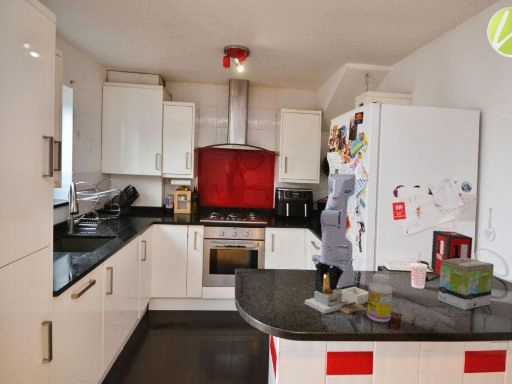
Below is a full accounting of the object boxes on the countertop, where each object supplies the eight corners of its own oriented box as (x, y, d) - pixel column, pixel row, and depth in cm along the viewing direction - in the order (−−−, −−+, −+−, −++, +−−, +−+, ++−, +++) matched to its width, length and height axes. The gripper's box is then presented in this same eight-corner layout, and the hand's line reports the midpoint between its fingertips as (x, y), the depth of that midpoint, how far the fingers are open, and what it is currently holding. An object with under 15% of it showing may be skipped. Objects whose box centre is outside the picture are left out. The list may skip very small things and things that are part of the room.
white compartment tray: (330, 297, 112) (330, 285, 112) (350, 306, 104) (351, 293, 104) (304, 303, 105) (305, 291, 105) (324, 313, 98) (325, 300, 97)
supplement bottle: (363, 313, 99) (365, 272, 99) (383, 313, 100) (385, 272, 99) (372, 323, 92) (375, 279, 92) (394, 323, 93) (397, 279, 92)
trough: (354, 305, 105) (354, 300, 105) (362, 309, 102) (362, 303, 102) (339, 309, 101) (339, 304, 101) (347, 313, 98) (347, 307, 98)
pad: (327, 297, 107) (327, 294, 107) (336, 301, 104) (336, 298, 104) (319, 299, 105) (319, 296, 105) (328, 303, 102) (328, 300, 102)
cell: (320, 291, 105) (321, 272, 105) (328, 290, 107) (329, 271, 107) (327, 294, 102) (328, 275, 102) (335, 293, 104) (336, 273, 104)
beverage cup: (409, 287, 127) (411, 252, 126) (408, 283, 133) (410, 249, 132) (427, 290, 125) (429, 254, 124) (425, 285, 130) (427, 251, 130)
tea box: (466, 311, 104) (469, 266, 104) (437, 300, 113) (439, 259, 113) (491, 304, 111) (494, 262, 111) (462, 295, 120) (464, 256, 120)
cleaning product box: (469, 285, 134) (472, 237, 133) (446, 283, 135) (449, 236, 134) (450, 274, 150) (453, 231, 149) (430, 272, 151) (433, 230, 150)
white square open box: (354, 295, 115) (354, 286, 115) (370, 302, 109) (370, 292, 109) (341, 298, 111) (341, 289, 111) (357, 305, 105) (357, 296, 105)
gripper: (306, 243, 108) (304, 282, 108) (339, 251, 96) (336, 296, 96) (321, 241, 112) (319, 279, 112) (354, 249, 100) (352, 292, 100)
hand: (328, 287), depth 105 cm, fingers closed on cell, 3 cm apart
